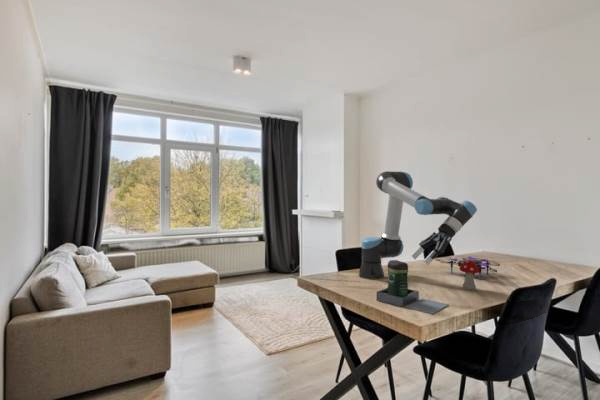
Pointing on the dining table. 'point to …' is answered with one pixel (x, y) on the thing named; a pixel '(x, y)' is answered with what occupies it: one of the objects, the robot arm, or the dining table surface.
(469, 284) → the decorative mushroom
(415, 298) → the locating collar
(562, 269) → the dining table surface
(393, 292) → the coffee jar
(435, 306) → the rubber pad
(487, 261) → the drone
